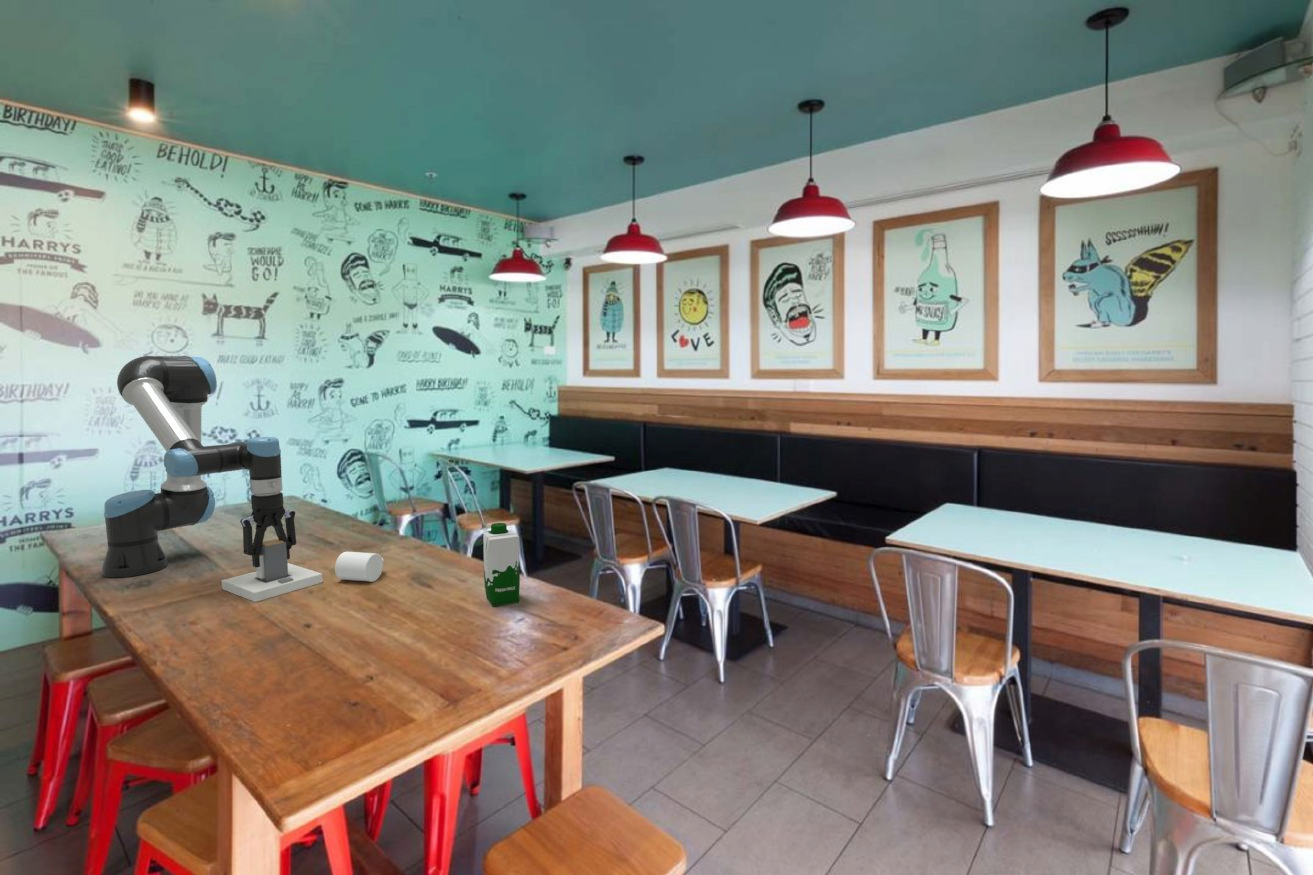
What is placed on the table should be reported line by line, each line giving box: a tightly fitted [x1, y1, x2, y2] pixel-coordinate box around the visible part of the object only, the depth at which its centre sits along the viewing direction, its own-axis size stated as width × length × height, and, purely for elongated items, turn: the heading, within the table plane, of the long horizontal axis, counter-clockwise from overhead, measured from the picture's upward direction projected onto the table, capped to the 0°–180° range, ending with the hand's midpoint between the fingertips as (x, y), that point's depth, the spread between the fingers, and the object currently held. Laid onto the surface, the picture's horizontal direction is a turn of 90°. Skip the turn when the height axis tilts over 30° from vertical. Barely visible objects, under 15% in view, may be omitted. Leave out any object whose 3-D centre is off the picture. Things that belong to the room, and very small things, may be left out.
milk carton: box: [482, 522, 521, 608], centre depth 164 cm, size 9×9×20 cm
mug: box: [334, 551, 385, 583], centre depth 183 cm, size 12×10×8 cm
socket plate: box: [221, 562, 323, 603], centre depth 176 cm, size 18×18×3 cm
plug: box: [257, 538, 288, 582], centre depth 175 cm, size 6×6×10 cm
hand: (272, 574), depth 176 cm, fingers closed on plug, 5 cm apart
